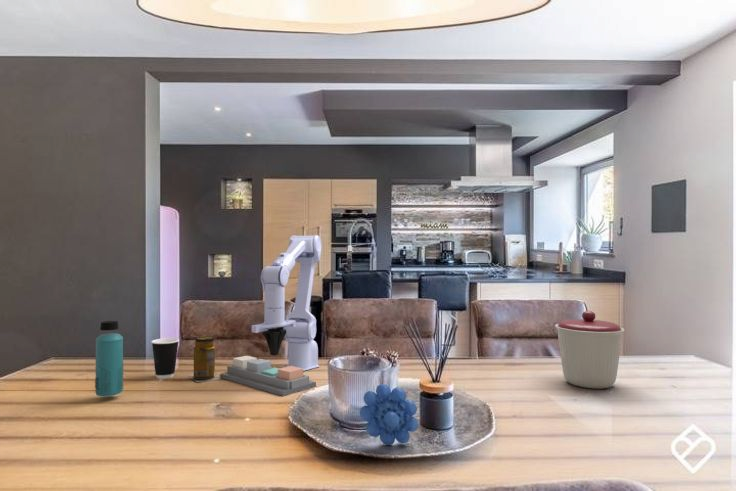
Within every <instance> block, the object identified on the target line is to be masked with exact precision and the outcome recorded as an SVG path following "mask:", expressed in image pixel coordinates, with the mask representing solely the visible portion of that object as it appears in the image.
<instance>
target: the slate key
mask: <svg viewBox="0 0 736 491" xmlns="http://www.w3.org/2000/svg"><path fill="white" fill-rule="evenodd" d="M271 367H272V360H268V359H262V358H257V360H253V361H248V362H247V370H250V371H254V372H261V371H264V370H268V369H271Z"/></svg>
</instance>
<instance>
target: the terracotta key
mask: <svg viewBox="0 0 736 491" xmlns="http://www.w3.org/2000/svg"><path fill="white" fill-rule="evenodd" d="M303 375H304V371H303V368H298V367H294V366H289V367H285V368H283V367H281V368H279V369H278V378H280V379H284V380H288V381H291V380H294V379H298V378H302V377H303Z"/></svg>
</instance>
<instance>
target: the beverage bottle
mask: <svg viewBox="0 0 736 491" xmlns="http://www.w3.org/2000/svg"><path fill="white" fill-rule="evenodd" d="M99 329H100V331H116V330H119V321H118V320H106V321H101V322H100V328H99ZM123 346H124V337H123V335H121V334H120V333H116V332H115V333H114V332H110V333H103V334H100V335H99V336H98V337H96V339H95V366H94V369H95V370H94V372H95V373H94V374H95V377H94V391H95V394H96V396H97V397H111V396H115V395H116V396H117V395H119V394H121V393H122V392H123V391H124V388H125V387H124V347H123Z"/></svg>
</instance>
